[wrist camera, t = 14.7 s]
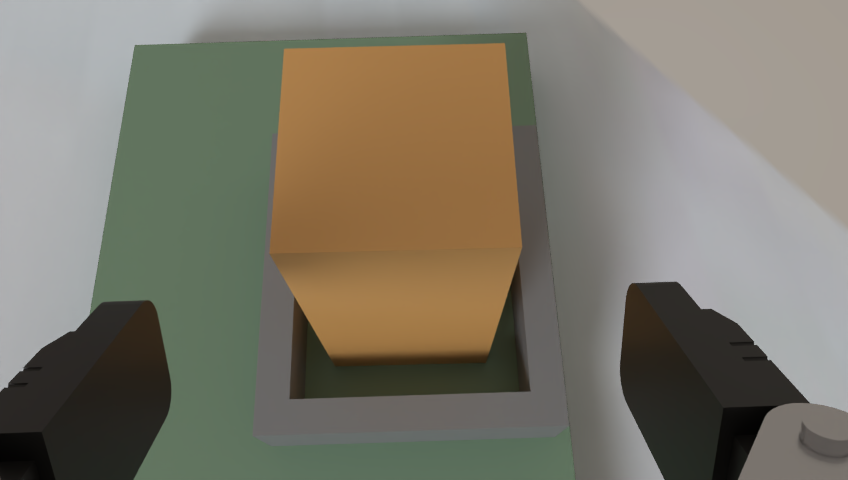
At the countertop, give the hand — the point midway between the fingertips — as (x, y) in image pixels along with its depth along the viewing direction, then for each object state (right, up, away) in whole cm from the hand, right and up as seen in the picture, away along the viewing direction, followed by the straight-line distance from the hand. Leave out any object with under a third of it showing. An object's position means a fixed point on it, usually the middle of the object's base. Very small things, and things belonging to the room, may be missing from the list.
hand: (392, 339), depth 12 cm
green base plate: (-3, -1, +14) cm, 15 cm away
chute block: (0, 0, +12) cm, 12 cm away
